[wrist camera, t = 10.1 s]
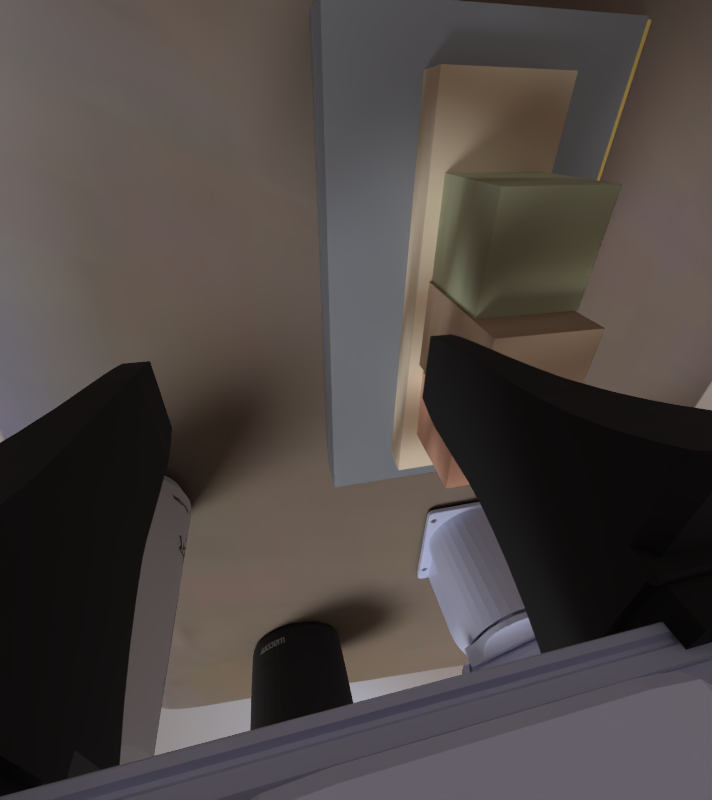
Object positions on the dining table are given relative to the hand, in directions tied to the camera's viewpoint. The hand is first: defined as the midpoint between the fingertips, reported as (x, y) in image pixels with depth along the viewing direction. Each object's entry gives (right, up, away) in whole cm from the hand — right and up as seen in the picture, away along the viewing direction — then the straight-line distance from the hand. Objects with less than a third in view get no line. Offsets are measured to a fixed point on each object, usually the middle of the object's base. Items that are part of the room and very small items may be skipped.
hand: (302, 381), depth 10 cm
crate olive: (+7, +6, +5) cm, 11 cm away
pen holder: (-5, -25, +30) cm, 40 cm away
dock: (+6, +5, +11) cm, 13 cm away
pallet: (+6, +4, +9) cm, 11 cm away
